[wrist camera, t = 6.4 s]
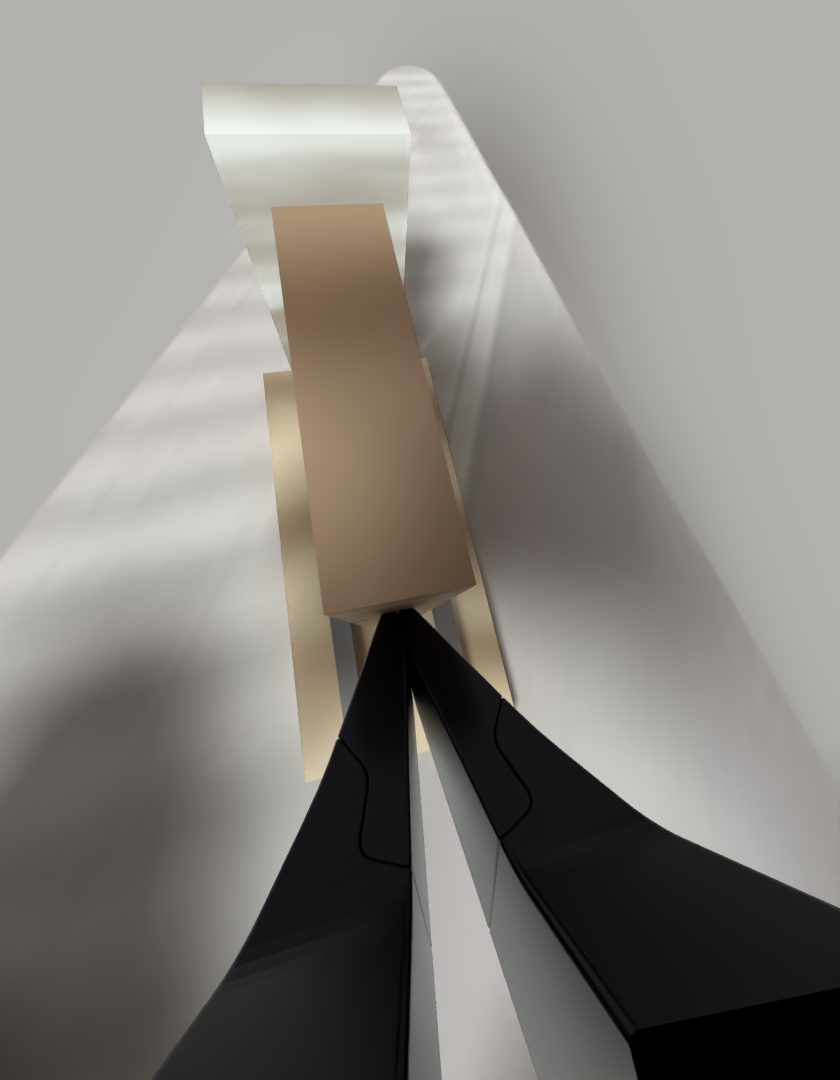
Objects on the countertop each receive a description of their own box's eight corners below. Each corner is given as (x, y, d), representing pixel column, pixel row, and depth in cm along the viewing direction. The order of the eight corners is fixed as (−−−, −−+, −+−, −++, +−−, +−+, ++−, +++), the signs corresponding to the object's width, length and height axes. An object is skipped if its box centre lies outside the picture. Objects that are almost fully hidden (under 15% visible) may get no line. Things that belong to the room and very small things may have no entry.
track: (510, 720, 15) (711, 863, 6) (310, 773, 14) (149, 1063, 5) (416, 338, 21) (440, 86, 11) (265, 352, 20) (147, 81, 10)
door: (426, 614, 15) (490, 581, 6) (365, 626, 15) (323, 615, 5) (390, 440, 17) (393, 203, 8) (337, 447, 17) (270, 206, 7)
